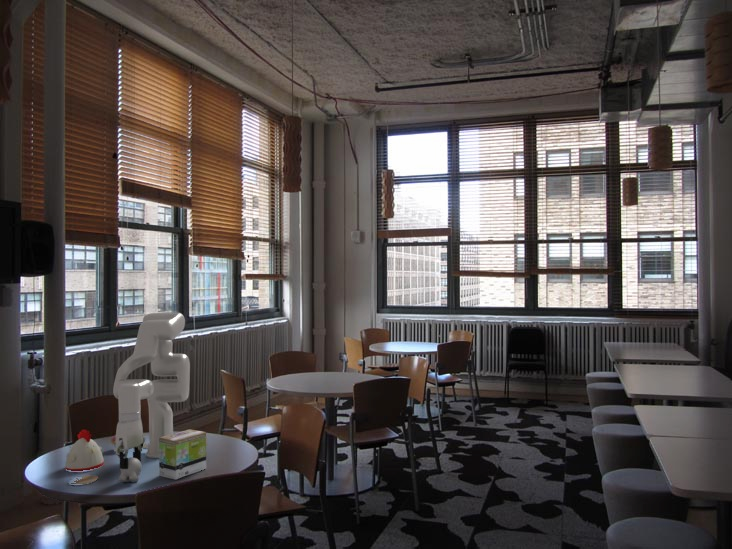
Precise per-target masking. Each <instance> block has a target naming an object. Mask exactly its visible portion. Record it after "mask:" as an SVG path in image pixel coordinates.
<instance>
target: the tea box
mask: <svg viewBox="0 0 732 549" xmlns="http://www.w3.org/2000/svg"><path fill="white" fill-rule="evenodd" d="M158 463H159V464H158V475H159V476H160V477H163V478H166V479H169V480H178V479H180V478H183V477H186V476H189V475H193V474H196V473H199V472H202V471H205V470H207V432H206V431H201V430H195V429H191V428H190V429H186V430H183V431H178V432H175V433H174V432H173V434H171V435H167V436H163V437H160V438H159V458H158ZM204 469H205V470H204ZM201 470H202V471H201Z"/></svg>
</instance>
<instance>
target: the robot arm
mask: <svg viewBox="0 0 732 549" xmlns="http://www.w3.org/2000/svg"><path fill="white" fill-rule="evenodd" d="M185 326H186V319H185V316H184V315H183V314H182V313H181V312H153V313H147V314H145V315H144V316H143V318H142V322H141V324H140V325H139V328H138V332H137V337H136V341H135V345H134V348H133V349H134V350H133V353H132V355H130V356H129V357H128V358H126V360H125V361H124V362H122V364H121V365H120V366H119V368H117V372H116V375H115V379H114V383H113V388H112V391H113V396H114V397H115V398H116V399H117V400H118V422H117V424H116V432H115V435H116V448H115V447H114V449H113V451H114V452H115V454H116V456H117V458H118V459H119V470H120V469H128V458H129V457H128V453H129V450H132V449H133V451H132V458H137V459H138V460H139V461H140V462H141V463H142V451H143V450H147V451H146V453H145V457H146V458H149V459H159V438H160V437H163V436H167V435H171V434H174V423H173V422H174V420H173V418H174V415H173V410H172V408H171V406H170V405H169V403H182V402H185V401H187V400H188V398H189V395H190V382H191V381H190V379H191V378H190V376H191V375H190V374H191V373H190V372H191V363H190V358H189V356H188V355H187V354H185V353H174V352H173V340H175V339H176V338H177V337H178V336H179V335H180V334H181V333H182V332H183V331H184V328H185ZM149 363H150V370H151V371H150V372H151V374H152V375H153V376H155V377H176V378H175V379H174V378H173V379H172V378H171V379H170V378H169V379H153V380H150V379H146V378H145V379H143V378H141V379H138V378H137V379H135V378H134V379H133V378H131V379H130V378H128V377H129V375H130V374H131V373H132V372H133V371H135V370H137V369H138V368H140V367H143V366H145V365H147V364H149ZM127 378H128V379H127ZM146 399H147V404H148V431H149V434H148V435H149V443H148V442H146V438H145V437H144V430H143V422H142V421H143V420H142V417H141V414H142V413H141V410H142V409H141V406H142V405H141V400H146ZM123 448H124V449H123Z"/></svg>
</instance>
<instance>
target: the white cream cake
mask: <svg viewBox="0 0 732 549" xmlns="http://www.w3.org/2000/svg"><path fill="white" fill-rule="evenodd" d="M91 437H92V434H90V431H89V430H87V429H81V431H79V433H78V434H77V439H78V440H76V441H75V442H74V443H73V445H72V446H71V447H70V449H69V451H68V452H66V456H65V458H66V461H65V465H64V469H65V468H66V469H67V470H71V471H83V470H90V469H94V468H98V467H100V466H102V465H103V464H104V463H105V461H104V456H103V448H102V446H99V445H98V444H97V442H96V441H95V440H93V439H91ZM104 465H105V464H104ZM104 465H103V466H104Z"/></svg>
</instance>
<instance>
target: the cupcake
mask: <svg viewBox="0 0 732 549" xmlns="http://www.w3.org/2000/svg"><path fill="white" fill-rule="evenodd" d="M110 443H111V444H112V445H113V446H114V449H115V448H116V434H115V435H113V436H112V437H111V438H110ZM123 449H124V448H123Z"/></svg>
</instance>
